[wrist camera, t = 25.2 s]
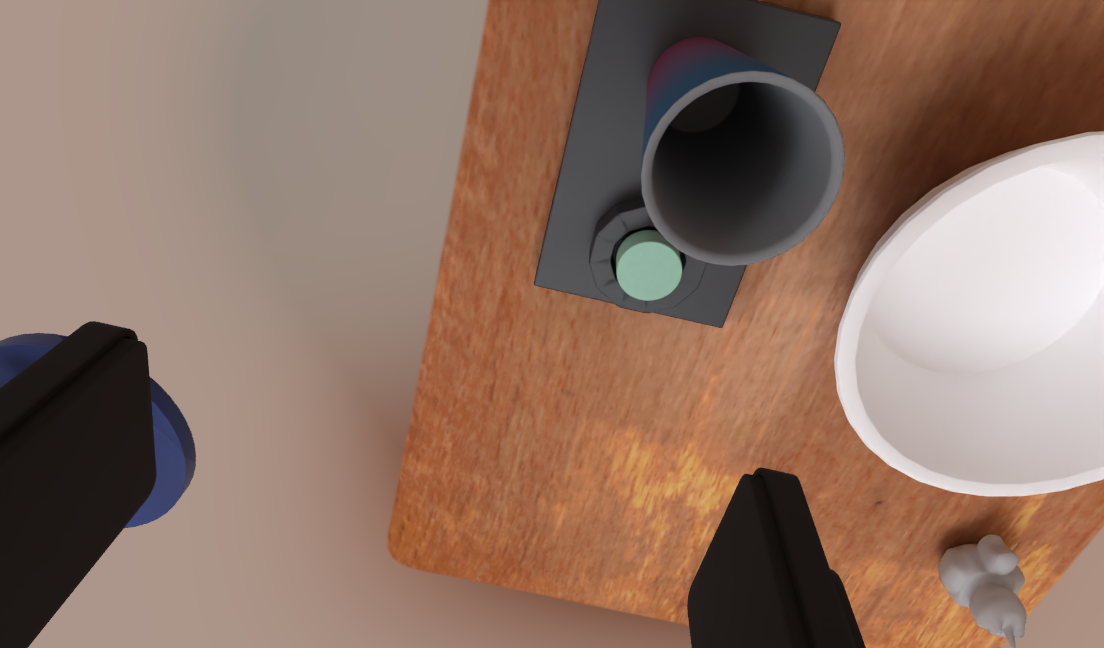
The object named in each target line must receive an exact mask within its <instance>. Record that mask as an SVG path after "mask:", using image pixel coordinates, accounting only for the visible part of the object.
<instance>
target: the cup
mask: <svg viewBox="0 0 1104 648" xmlns="http://www.w3.org/2000/svg"><path fill="white" fill-rule="evenodd" d="M844 161H845V152H844V145H843V138H842V134H841V131H840V128H839V126H838V123H837V120H836V118H835V116H834V115H833V113H832V112H831V110H830V109H829V107H828V106H827V104H826V103H825V101H824V100H823V99H821V98H820V97H819V96H818V95H817V94H816V93H815V92H814V91H813V90H812V89H811V88H809V87H807V86H806V85H804V84H802V83H800V82H799V81H797V80H795V79H793V78H792V77H790V76H788V75H786V74H784V73H782V72H780V71H778V70H776V69H774V68H772V67H770V66H768V65H766V64H764V63H762V62H760V61H758V60H756V59H754V58H752V57H750V56H748V55H746V54H744V53H742V52H740V51H738V50H736V49H734V48H732V47H730V46H728V45H726V44H724V43H722V42H720V41H718V40H715V39H712V38H709V37H692V38H687V39H684V40H681V41H679V42H677V43H675V44H673V45H672V46H670V47H669V48H668V49H667V50H665V51H664V52H663V53H662V54H661V56H660V57H659V58H658V59H657V60H656V62H655V64H654V66H653V68H652V69H651V73H650V76H649V79H648V86H647V97H646V110H645V123H644V136H643V150H642V163H641V189H642V196H643V200H644V203H645V207H646V210H647V212H648V214H649V216H650V218H651V220H652V222H653V224H654V226H655V227H656V228H657V230H658V231H659V232H660V233H661V234H662V236H663V237H664V238H665V239H666V240H667V241H668V242H669V243H670V244H672V245H673V246H674V247H676V248H677V249H678V250H679V251H681V252H683V253H685V254H687V255H689V256H691V257H693V258H695V259H697V260H701V261H704V262H708V263H711V264H718V265H729V266H735V265H747V264H753V263H757V262H761V261H765V260H768V259H771V258H773V257H775V256H778V255H780V254H782V253H784V252H786V251H788V250H790V249H791V248H793V247H794V246H796V245H797V244H799V243H800V242H802V241H803V240H804V239H805V238H806V237H807V236H808V235H809V234H810V233H812V232H813V231H814V230H815V229H816V228H817V227H818V226H819V224H820V223H821V221H822V220H823V219H824V217H825V216H826V215H827V213H828V212H829V211H830V209H831V207H832V205H833V203H834V201H835V199H836V197H837V195H838V192H839V189H840V185H841V181H842V178H843V174H844Z"/></svg>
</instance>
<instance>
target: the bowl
mask: <svg viewBox="0 0 1104 648" xmlns="http://www.w3.org/2000/svg"><path fill="white" fill-rule="evenodd" d="M834 365H835V374H836V384H837V393H838V395H839V398H840V401H841V403H842V406H843V409H844V411H845V414H846V416H847V419H848V421H849V423H850V424H851V425H852V427H853V428H854V430H855V431H856V433H857V434H858V435H859V437H860V438H861V440H862V441H863V442H864V444H865V445H866V446H867V447H868V448H869V449H871V450H872V451H873V452H874V453H875V454H876V455H878V456H879V457H880V458H881V459H882V460H883V461H885V462H886V463H887V464H888V465H890V466H891V467H893V468H895V469H897V470H899V471H901V472H903V473H904V474H906V475H908V476H910V477H912V478H914V479H915V480H917V481H919V482H923V483H926V484H929V485H932V486H935V487H938V488H941V489H945V490H948V491H951V492H958V493H965V494H973V495H980V496H1028V495H1035V494H1042V493H1049V492H1056V491H1063V490H1066V489H1070V488H1074V487H1077V486H1081V485H1085V484H1088V483H1092V482H1096V481H1099V480H1103V479H1104V131H1099V132H1086V133H1082V134H1077V135H1073V136H1069V137H1064V138H1060V139H1055V140H1051V141H1047V142H1042V143H1038V144H1034V145H1031V146H1027V147H1024V148H1020V149H1017V150H1014V151H1010V152H1007V153H1004V154H1002V155H999V156H997V157H994V158H992V159H989V160H987V161H984V162H982V163H979V164H977V165H974V166H972V167H969V168H967V169H966V170H964V171H962V172H960V173H959V174H957V175H955V176H954V177H952V178H950V179H949V180H947V181H945V182H944V183H942V184H940V185H939V186H937V187H935V188H934V189H932V190H931V191H929V192H928V193H927V194H926V195H925V196H923V197H922V198H921V199H920V200H919V201H917V202H916V203H915V204H914V205H912V206H911V207H910V208H909V209H908V210H906V211H905V212H904V213H903V214H902V215H901V216H900V217H899V218H898V219H897V220H896V221H895V222H894V224H893V225H892V226H891V227H890V228H889V229H888V230H887V232H886V233H885V234H884V235H883V236H882V237H881V238H880V240H879V241H878V242H877V243H876V245H875V246H874V248H873V250H872V251H871V253H870V254H869V256H868V258H867V259H866V261H865V263H864V264H863V266H862V268H861V269H860V271H859V273H858V275H857V278H856V281H855V283H854V286H853V289H852V292H851V294H850V297H849V300H848V302H847V305H846V308H845V311H844V314H843V316H842V319H841V322H840V325H839V329H838V336H837V343H836V351H835V358H834Z"/></svg>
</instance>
